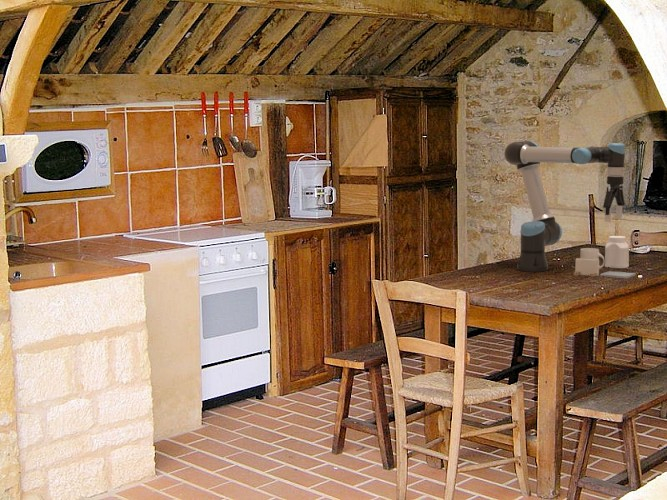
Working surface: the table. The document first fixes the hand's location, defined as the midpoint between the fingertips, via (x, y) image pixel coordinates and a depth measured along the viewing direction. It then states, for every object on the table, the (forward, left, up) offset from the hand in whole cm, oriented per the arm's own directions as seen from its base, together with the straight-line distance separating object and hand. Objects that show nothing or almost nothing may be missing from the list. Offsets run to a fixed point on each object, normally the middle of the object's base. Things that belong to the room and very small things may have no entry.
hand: (613, 220), depth 451 cm
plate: (+6, -9, -25) cm, 27 cm away
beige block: (-7, -15, -25) cm, 30 cm away
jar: (-5, +18, -25) cm, 32 cm away
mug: (-9, -2, -25) cm, 27 cm away
